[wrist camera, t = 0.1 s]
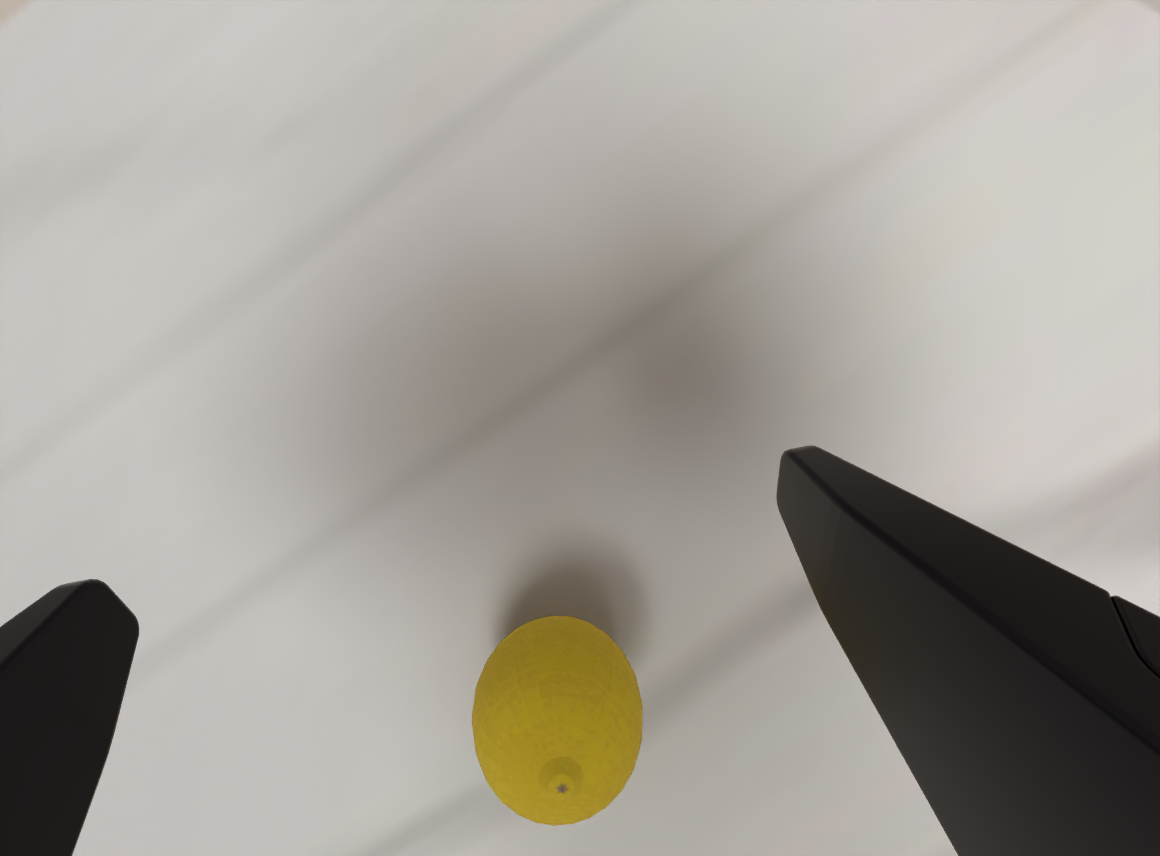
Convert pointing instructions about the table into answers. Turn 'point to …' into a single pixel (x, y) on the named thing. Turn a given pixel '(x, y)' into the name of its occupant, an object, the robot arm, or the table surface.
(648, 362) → the table surface
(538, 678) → the lemon
